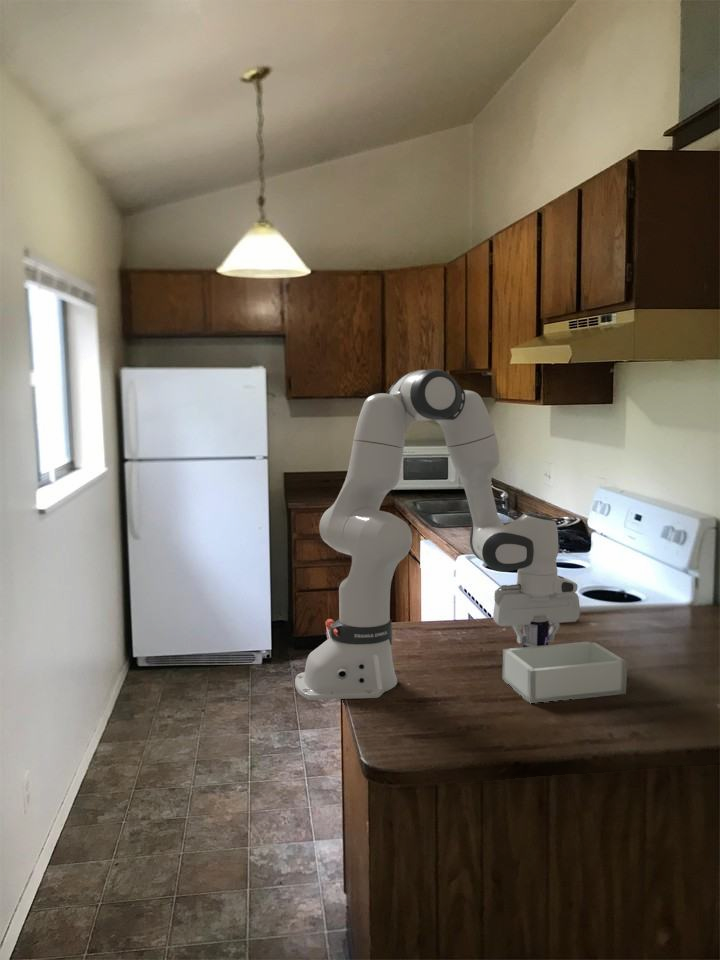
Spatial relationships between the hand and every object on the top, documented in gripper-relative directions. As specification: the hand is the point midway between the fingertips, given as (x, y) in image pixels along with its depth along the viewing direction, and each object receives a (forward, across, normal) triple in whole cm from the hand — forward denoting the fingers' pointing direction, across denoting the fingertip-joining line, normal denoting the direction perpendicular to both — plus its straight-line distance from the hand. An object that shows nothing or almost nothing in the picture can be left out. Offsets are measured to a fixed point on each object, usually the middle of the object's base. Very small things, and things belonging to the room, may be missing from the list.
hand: (535, 641), depth 184 cm
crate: (+6, 0, -13) cm, 14 cm away
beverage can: (+6, 0, 0) cm, 6 cm away
